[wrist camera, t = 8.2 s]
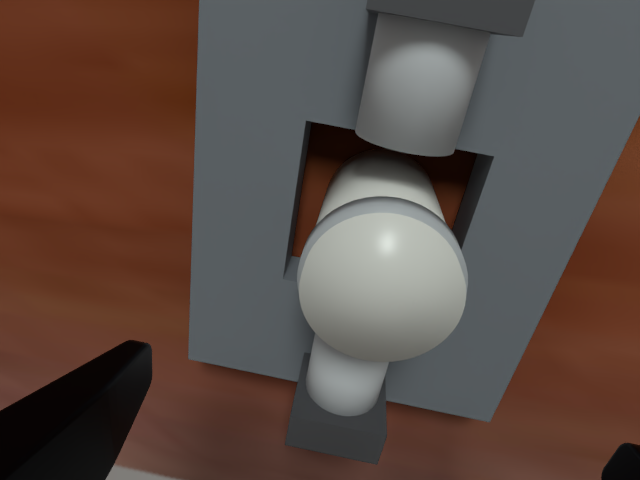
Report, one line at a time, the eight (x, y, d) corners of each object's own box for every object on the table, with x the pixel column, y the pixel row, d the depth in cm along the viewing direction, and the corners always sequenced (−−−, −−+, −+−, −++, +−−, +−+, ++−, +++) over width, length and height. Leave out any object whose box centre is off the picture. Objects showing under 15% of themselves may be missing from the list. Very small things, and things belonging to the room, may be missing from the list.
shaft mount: (480, 389, 22) (510, 497, 17) (203, 331, 22) (153, 420, 17) (656, 0, 14) (809, -14, 9) (223, -77, 14) (143, -129, 9)
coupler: (421, 262, 19) (442, 380, 13) (314, 241, 19) (283, 347, 13) (453, 157, 17) (498, 237, 10) (332, 135, 17) (306, 199, 11)
